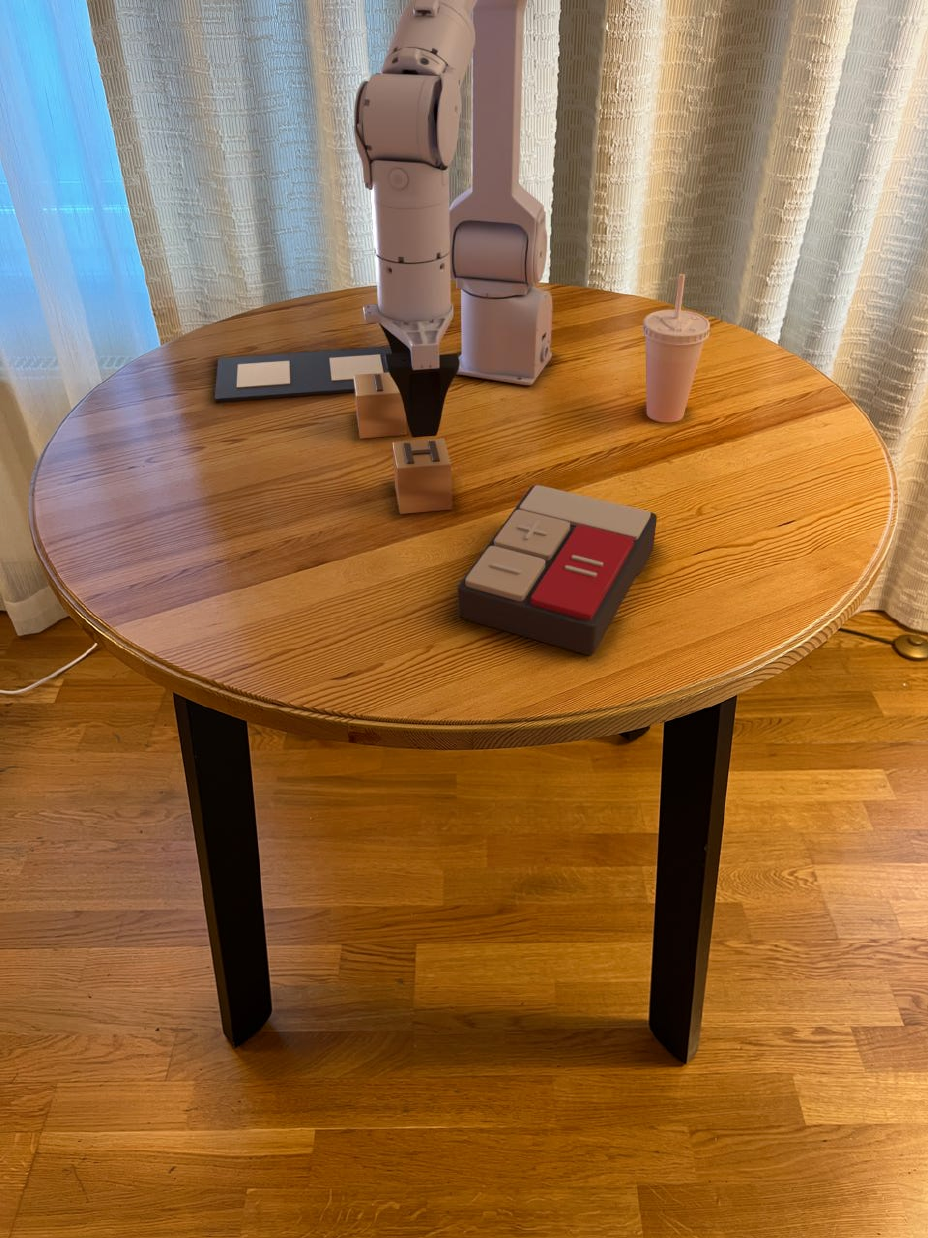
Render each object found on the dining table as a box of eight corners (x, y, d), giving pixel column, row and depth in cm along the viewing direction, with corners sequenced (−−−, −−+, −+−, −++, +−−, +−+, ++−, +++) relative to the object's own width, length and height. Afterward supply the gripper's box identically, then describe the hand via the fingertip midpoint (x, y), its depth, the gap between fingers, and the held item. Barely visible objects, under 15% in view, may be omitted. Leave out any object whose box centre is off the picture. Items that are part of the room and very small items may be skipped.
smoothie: (694, 400, 105) (714, 265, 97) (699, 430, 100) (721, 290, 92) (632, 398, 106) (646, 263, 97) (633, 427, 101) (649, 288, 92)
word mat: (397, 348, 116) (397, 344, 115) (407, 388, 108) (406, 383, 108) (218, 361, 113) (218, 357, 113) (215, 402, 106) (214, 398, 105)
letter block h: (445, 482, 93) (444, 436, 90) (452, 509, 90) (451, 462, 87) (395, 486, 93) (392, 440, 90) (400, 514, 89) (397, 467, 86)
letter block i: (402, 413, 104) (399, 369, 101) (406, 435, 100) (404, 390, 97) (356, 416, 103) (353, 373, 100) (359, 438, 100) (356, 394, 97)
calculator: (454, 580, 75) (532, 475, 85) (456, 623, 78) (532, 517, 88) (595, 619, 72) (659, 505, 82) (592, 663, 74) (654, 548, 84)
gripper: (353, 222, 82) (365, 378, 91) (366, 289, 71) (378, 459, 80) (440, 217, 83) (443, 372, 92) (466, 283, 72) (467, 452, 81)
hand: (418, 412), depth 86 cm, fingers open, 7 cm apart
